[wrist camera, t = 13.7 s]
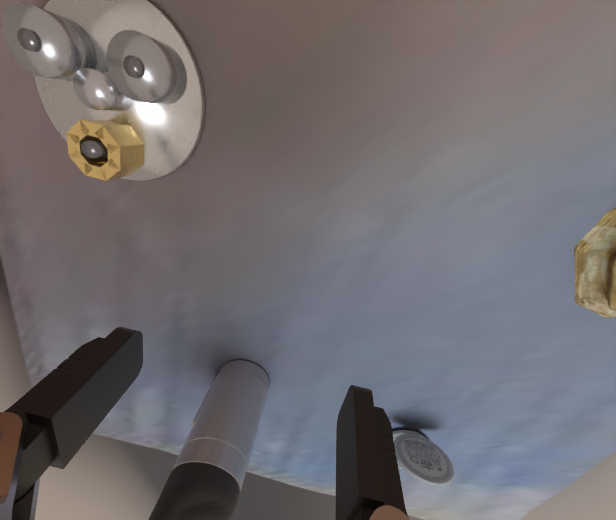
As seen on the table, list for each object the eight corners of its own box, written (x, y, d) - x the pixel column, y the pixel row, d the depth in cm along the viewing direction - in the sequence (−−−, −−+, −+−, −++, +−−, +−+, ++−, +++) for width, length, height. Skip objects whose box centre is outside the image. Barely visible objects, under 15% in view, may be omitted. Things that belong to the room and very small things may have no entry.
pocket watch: (467, 491, 44) (430, 539, 50) (443, 423, 53) (415, 471, 60) (400, 477, 44) (372, 527, 50) (389, 412, 54) (367, 460, 60)
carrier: (128, 206, 41) (95, 219, 36) (9, 64, 35) (-55, 53, 30) (238, 122, 35) (219, 123, 30) (117, -66, 29) (64, -111, 24)
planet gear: (122, 181, 39) (96, 188, 35) (87, 139, 37) (56, 141, 33) (153, 156, 37) (130, 161, 33) (119, 111, 35) (90, 109, 31)
